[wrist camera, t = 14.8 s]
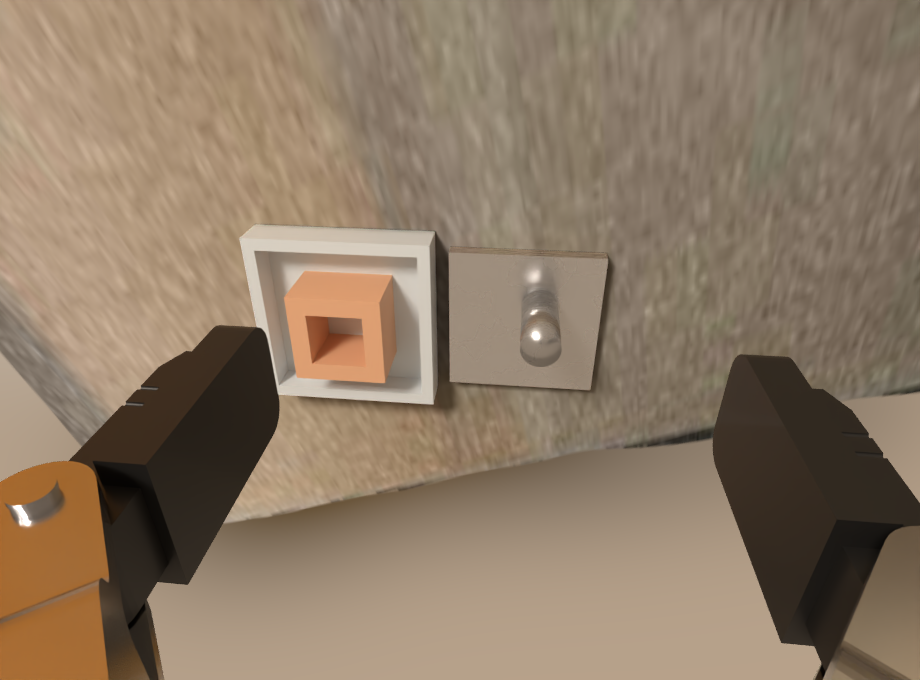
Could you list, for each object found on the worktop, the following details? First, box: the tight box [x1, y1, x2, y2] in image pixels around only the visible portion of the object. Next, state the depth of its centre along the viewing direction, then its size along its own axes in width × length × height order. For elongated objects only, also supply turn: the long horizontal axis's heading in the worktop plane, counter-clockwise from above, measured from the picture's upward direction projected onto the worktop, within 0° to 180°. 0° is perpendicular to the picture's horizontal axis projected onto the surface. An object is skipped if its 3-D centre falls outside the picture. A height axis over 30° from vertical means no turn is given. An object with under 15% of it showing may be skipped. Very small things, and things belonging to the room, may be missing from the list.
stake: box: [449, 247, 608, 390], centre depth 39 cm, size 10×10×6 cm
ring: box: [284, 271, 397, 383], centre depth 41 cm, size 6×6×4 cm
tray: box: [239, 224, 438, 404], centre depth 42 cm, size 12×12×2 cm
